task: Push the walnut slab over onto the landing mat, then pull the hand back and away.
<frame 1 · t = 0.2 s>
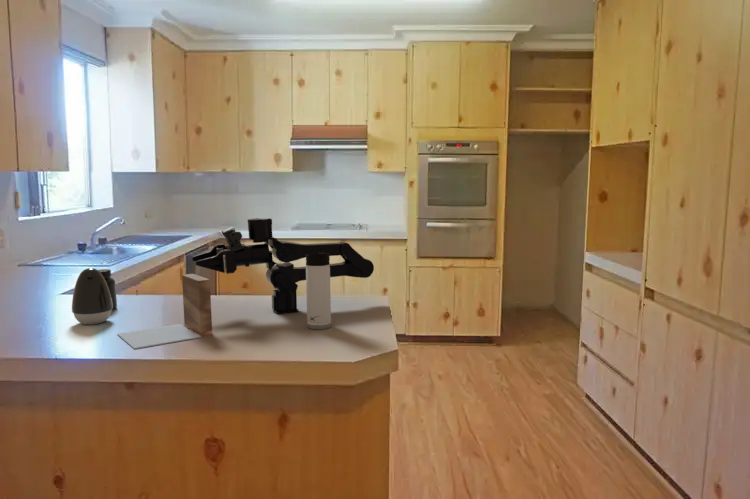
hand: (194, 261, 162), 17 cm above the countertop, tool horizontal, fingers open, 9 cm apart
black white egg shape: (93, 323, 162), on the countertop
supplement bottle: (105, 309, 179), on the countertop
landing mat: (159, 336, 147), on the countertop
travel mug: (319, 327, 155), on the countertop
walnut slab: (198, 329, 153), on the countertop
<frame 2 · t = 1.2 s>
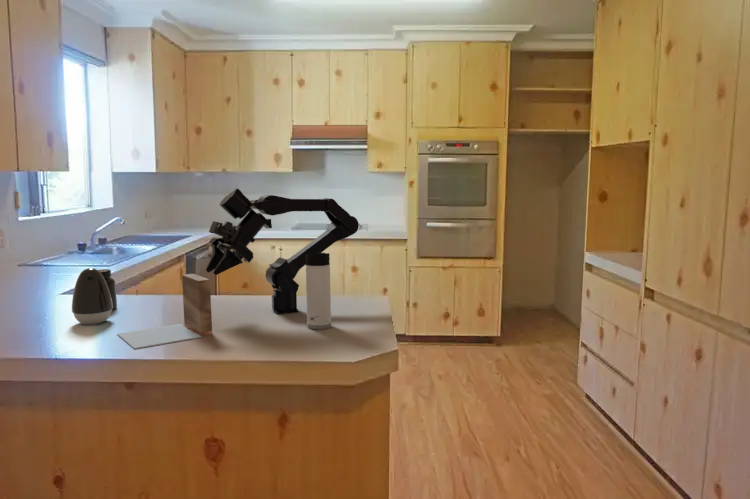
hand: (210, 272, 160), 14 cm above the countertop, tool tilted 45°, fingers open, 5 cm apart
nothing on the countertop moved.
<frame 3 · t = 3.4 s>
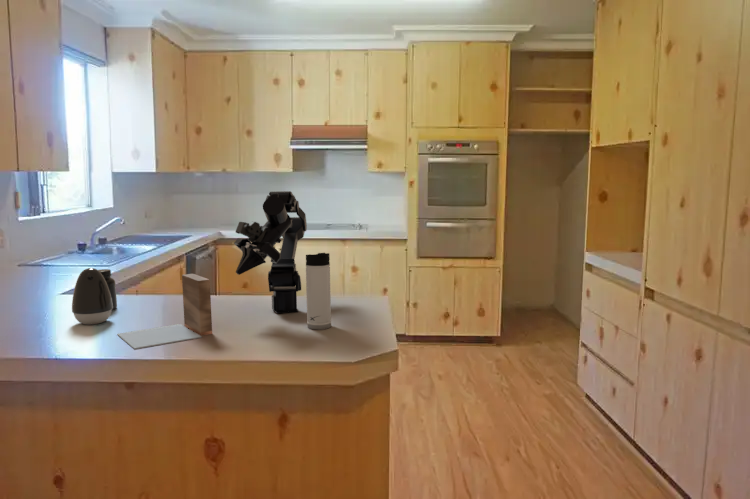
hand: (237, 273, 158), 14 cm above the countertop, tool tilted 45°, fingers closed
nothing on the countertop moved.
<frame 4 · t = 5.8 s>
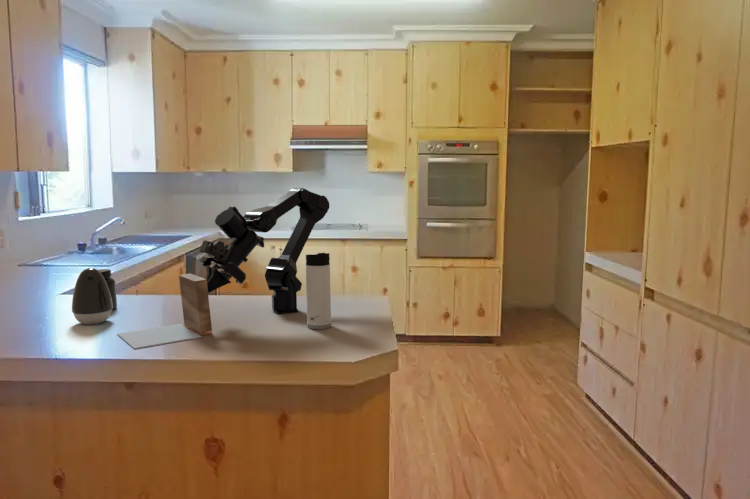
hand: (201, 294, 153), 9 cm above the countertop, tool tilted 45°, fingers closed
nothing on the countertop moved.
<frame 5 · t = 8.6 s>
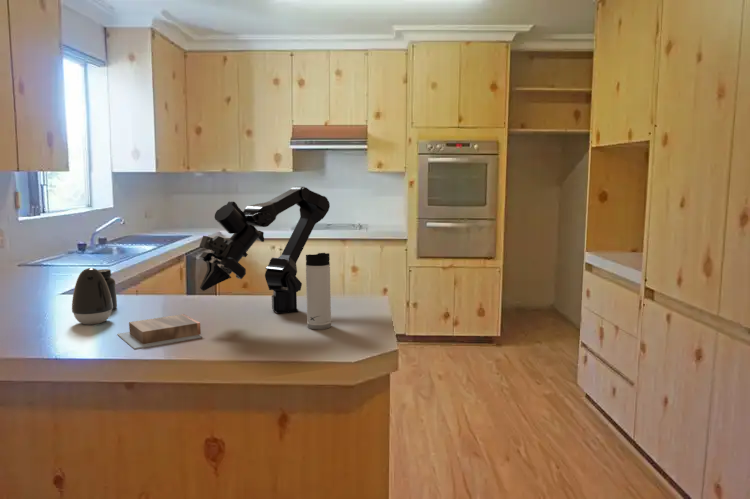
hand: (201, 289, 153), 10 cm above the countertop, tool tilted 45°, fingers closed
walnut slab: (192, 323, 152), point 2 cm above the countertop, tilted 90°, touching landing mat
everything else where it was.
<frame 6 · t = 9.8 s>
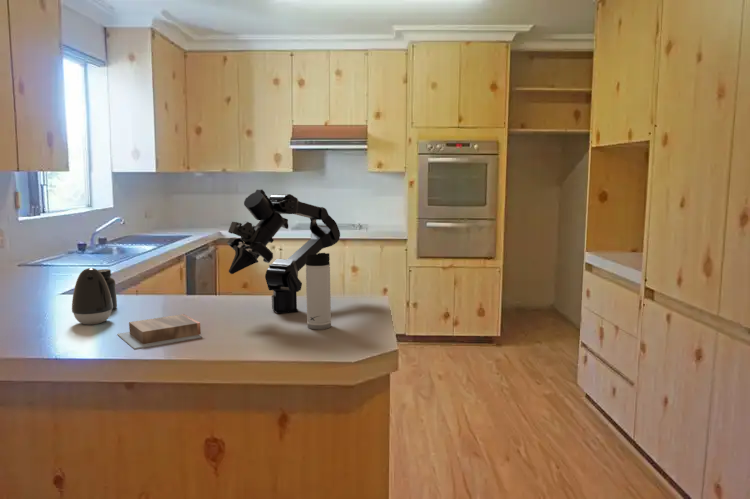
hand: (230, 273, 160), 13 cm above the countertop, tool tilted 45°, fingers closed
nothing on the countertop moved.
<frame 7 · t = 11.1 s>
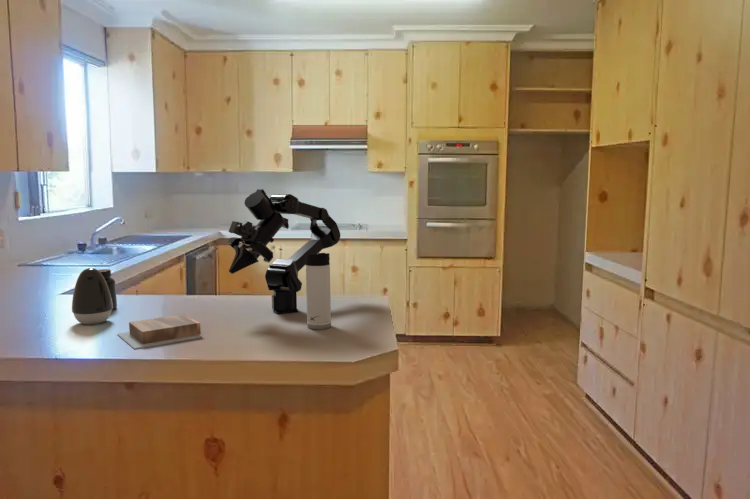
hand: (230, 272, 160), 14 cm above the countertop, tool tilted 45°, fingers closed
nothing on the countertop moved.
at the end: walnut slab tilted 90°; walnut slab touching landing mat; the gripper is holding nothing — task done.
